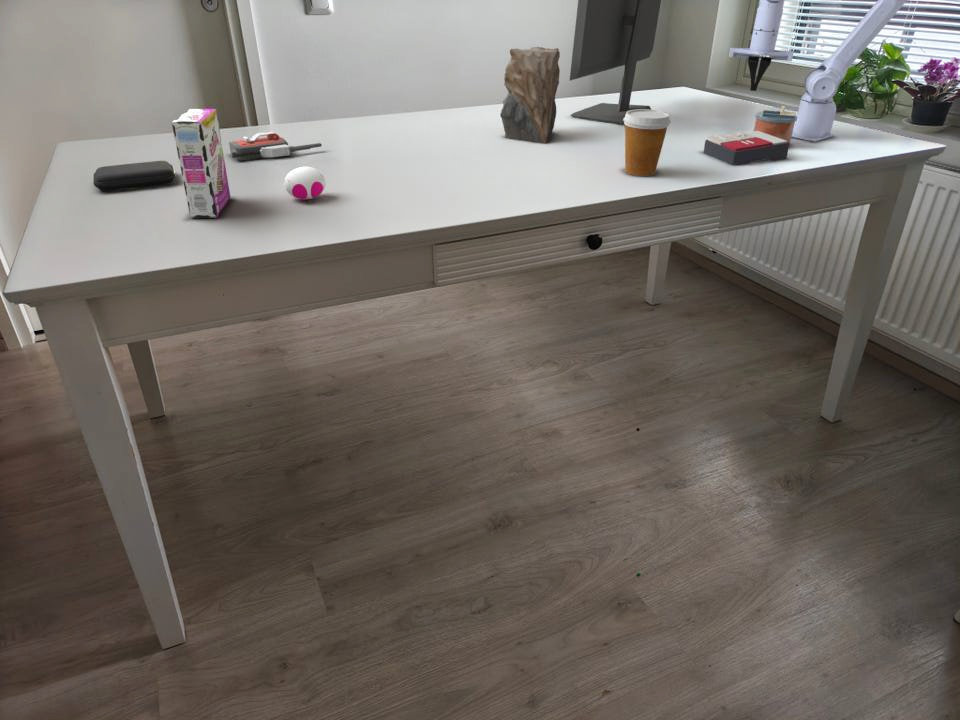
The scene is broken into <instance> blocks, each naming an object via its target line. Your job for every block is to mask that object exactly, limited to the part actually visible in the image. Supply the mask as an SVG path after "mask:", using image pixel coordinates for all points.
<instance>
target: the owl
mask: <svg viewBox="0 0 960 720" xmlns="http://www.w3.org/2000/svg"><path fill="white" fill-rule="evenodd" d="M509 55H510V59H509V61H508V63H507V65H506V67H505V73H504V77H503V78H504V79H503V80H504V81H503V82H504V84H503V85H504V86H505V88H506V90H507V92H508V93H507V95H506V97H505V98H504V99H503V101H502V104H503V105H502V108H501V111H500V114H499V115H500V118H501V121H502V127H503V131H504V138H506V139H510V140H511V139H512V140H518V141H525V142H526V141H527V142H532V143H541V144H547V143H548V141H550V138H551V136H552V135H553V130H554V128H555V123H556V117H557V104H556V94H557V91H558V87H559V84H560V73H561V70H560V65H559V60H560V58H561V53H560V50H559V48H558V47H556V48H546V47H542V46H535V47H533V46H532V47H530V48H525V49H522V48H521V49H520V48H510V49H509Z"/></svg>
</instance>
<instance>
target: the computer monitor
mask: <svg viewBox="0 0 960 720" xmlns="http://www.w3.org/2000/svg"><path fill="white" fill-rule="evenodd" d="M661 4H662V0H577V8H576V18H575V26H574V37H573V45H572V54H571V63H570V71H569V72H570V74H569V82H571V81H574V80H578V79H581V78H584V77H588V76H591V75H595V74H598V73H602V72H605V71H609V70H613V69H616V68H620V67H623V66H624V71H623V76H622V79H621V84H620V90H619V97H618V103H607V102H606V103H605V102H601V103H597V104H594V105H591V106H589V107H587V108H583V109H580V110H577V111H575V112H573V113H571V114H570V115H569V116H570V117H571V118H575V119H580V120H581V119H582V120H587V121H595V122H599V123H600V122H601V123H607V124H613V125H614V124H615V125H620V126H625V124H624V120H623V118H624V117H625V115H626V112H627V111H630V110H636V109H649V110H652V108H651V106H650V105H645V104H644V105H642V104H630V103H631V98H632V97H631V96H632V93H633V92H632V91H633V87H634V86H633V85H634V79H635V75H636V68H637V64H638V63H637V62H640V61H643V60H646V59H648V58H650V57H651V55H652V53H653V50H654V44H655V39H656V33H657V28H658V21H659V15H660V10H661Z"/></svg>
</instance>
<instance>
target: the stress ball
mask: <svg viewBox="0 0 960 720" xmlns="http://www.w3.org/2000/svg"><path fill="white" fill-rule="evenodd" d="M326 183H327V182H326V177H325V175H324V174H323V172H321V171H320V170H319V169H317V168H315V167H312V166H300V167H296V168H294V169H292V170H291V171H289V172H288V173H287V175H286V176H285V178H284V183H283V185H284V188H285V191H286V192H287V193H288V194H289V195H290V196H291V197H293V198H295V199H298V200H308V202H309V203H312V202H311V201H312V200H311V199H314V198H318V197H319V196H320V195H321V194H322V193H323V192H324V190H325V188H326V185H327V184H326Z"/></svg>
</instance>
